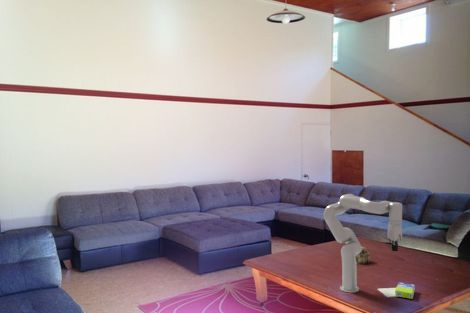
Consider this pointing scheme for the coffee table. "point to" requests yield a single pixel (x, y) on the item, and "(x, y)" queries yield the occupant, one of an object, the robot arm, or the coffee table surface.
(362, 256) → the miniature house
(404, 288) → the box
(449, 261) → the coffee table surface
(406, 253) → the coffee table surface
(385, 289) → the mat
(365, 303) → the coffee table surface
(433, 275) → the coffee table surface
